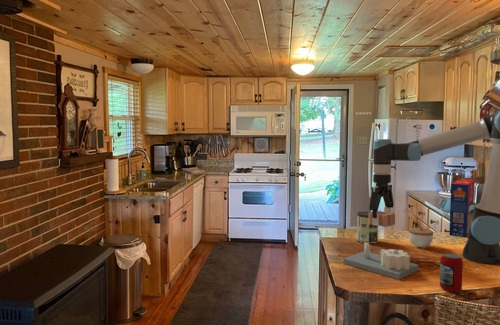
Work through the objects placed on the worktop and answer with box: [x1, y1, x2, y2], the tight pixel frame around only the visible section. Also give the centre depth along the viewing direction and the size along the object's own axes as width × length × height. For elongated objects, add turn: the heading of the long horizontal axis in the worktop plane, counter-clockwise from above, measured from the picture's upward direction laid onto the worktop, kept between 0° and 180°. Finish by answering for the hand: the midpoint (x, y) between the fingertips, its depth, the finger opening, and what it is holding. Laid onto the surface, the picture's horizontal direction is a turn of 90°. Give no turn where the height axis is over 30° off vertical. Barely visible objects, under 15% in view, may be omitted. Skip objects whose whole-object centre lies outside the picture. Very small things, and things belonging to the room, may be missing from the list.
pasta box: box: [448, 178, 476, 239], centre depth 210 cm, size 28×8×28 cm, turn 144°
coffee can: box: [356, 211, 379, 244], centre depth 190 cm, size 10×10×14 cm
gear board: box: [343, 243, 420, 280], centre depth 153 cm, size 24×16×8 cm, turn 42°
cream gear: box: [379, 248, 411, 270], centre depth 148 cm, size 10×10×5 cm
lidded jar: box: [408, 226, 434, 249], centre depth 181 cm, size 11×11×9 cm
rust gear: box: [368, 210, 396, 228], centre depth 169 cm, size 10×10×5 cm
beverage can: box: [439, 252, 464, 293], centre depth 130 cm, size 7×7×12 cm
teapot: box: [438, 197, 451, 214], centre depth 267 cm, size 15×15×11 cm
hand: (381, 223), depth 169 cm, fingers closed on rust gear, 10 cm apart
